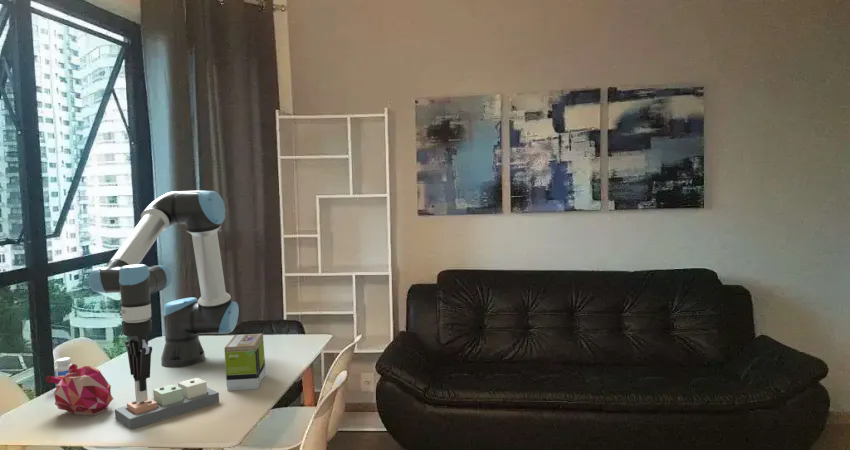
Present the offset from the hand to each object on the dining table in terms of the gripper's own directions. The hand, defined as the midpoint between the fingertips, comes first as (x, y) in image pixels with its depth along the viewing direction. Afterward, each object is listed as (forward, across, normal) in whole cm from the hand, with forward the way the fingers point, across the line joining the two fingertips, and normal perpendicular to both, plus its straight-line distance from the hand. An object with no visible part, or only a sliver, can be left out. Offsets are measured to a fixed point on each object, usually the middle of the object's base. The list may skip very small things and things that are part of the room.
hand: (141, 401), depth 172 cm
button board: (+5, 0, +8) cm, 9 cm away
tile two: (+3, 0, +7) cm, 8 cm away
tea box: (+5, -4, +36) cm, 36 cm away
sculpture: (+5, -20, -10) cm, 23 cm away
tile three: (+5, 0, 0) cm, 5 cm away
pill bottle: (+5, -46, -6) cm, 47 cm away
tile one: (+3, 0, +15) cm, 15 cm away
